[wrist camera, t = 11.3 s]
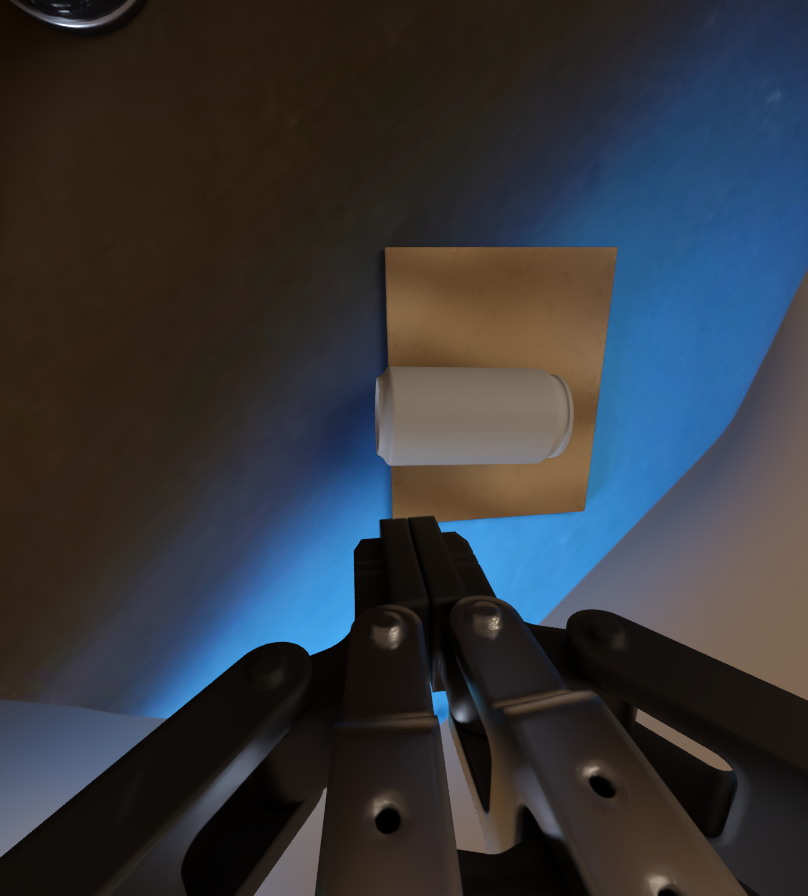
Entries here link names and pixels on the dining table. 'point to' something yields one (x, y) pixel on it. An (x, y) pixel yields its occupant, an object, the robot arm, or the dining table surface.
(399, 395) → the beverage can
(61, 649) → the dining table surface
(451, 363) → the cork mat
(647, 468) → the dining table surface
